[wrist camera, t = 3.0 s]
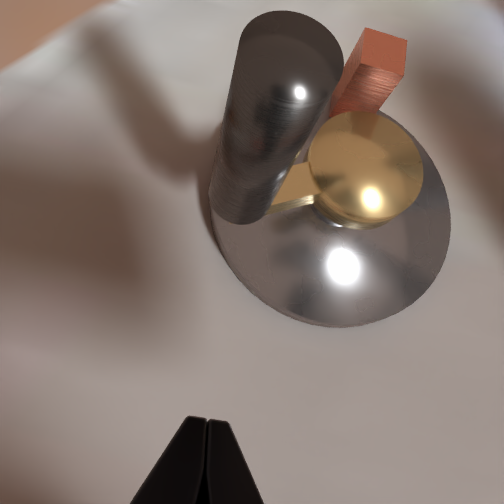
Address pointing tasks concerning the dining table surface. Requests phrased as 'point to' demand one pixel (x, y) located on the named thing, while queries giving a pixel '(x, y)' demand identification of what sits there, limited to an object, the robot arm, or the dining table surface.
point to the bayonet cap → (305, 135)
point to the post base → (341, 238)
